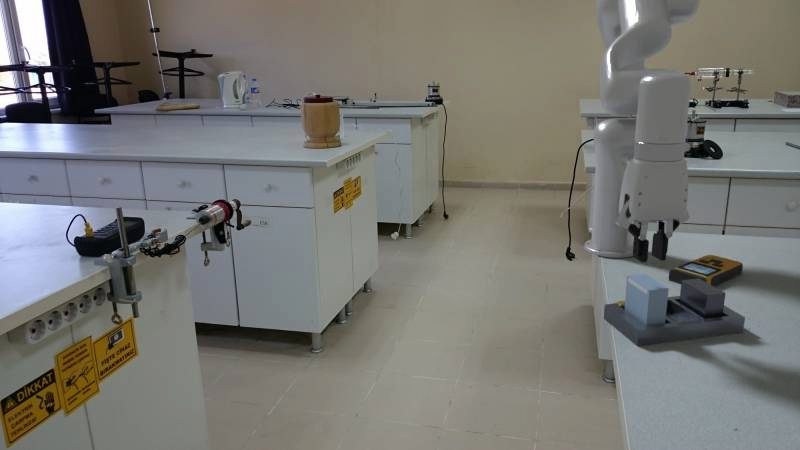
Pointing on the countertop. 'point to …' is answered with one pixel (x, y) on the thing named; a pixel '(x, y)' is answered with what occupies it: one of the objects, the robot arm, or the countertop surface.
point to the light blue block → (646, 299)
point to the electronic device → (707, 270)
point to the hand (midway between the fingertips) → (649, 258)
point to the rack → (681, 316)
